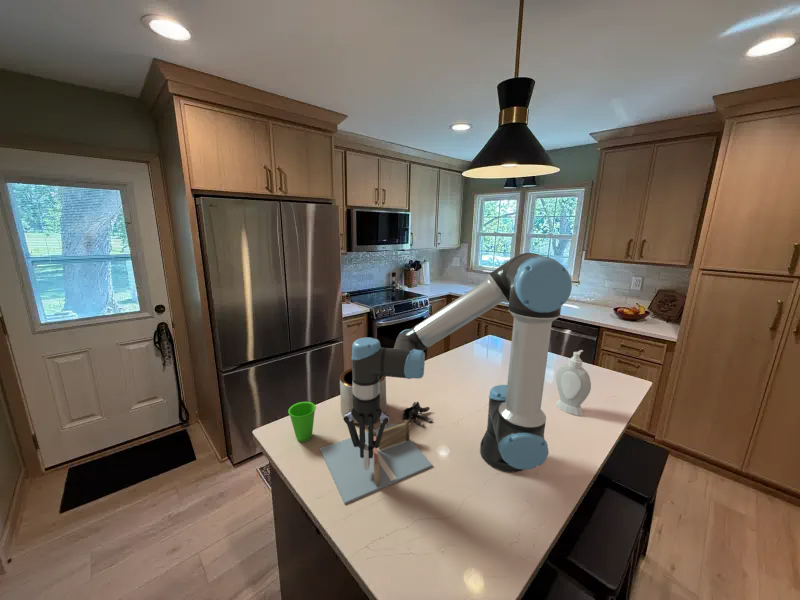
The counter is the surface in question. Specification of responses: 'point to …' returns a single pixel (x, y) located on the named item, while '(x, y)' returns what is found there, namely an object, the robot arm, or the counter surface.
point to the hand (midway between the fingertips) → (366, 466)
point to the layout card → (371, 466)
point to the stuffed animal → (416, 414)
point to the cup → (302, 419)
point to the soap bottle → (573, 385)
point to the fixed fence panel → (394, 434)
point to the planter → (347, 393)
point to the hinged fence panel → (376, 465)
